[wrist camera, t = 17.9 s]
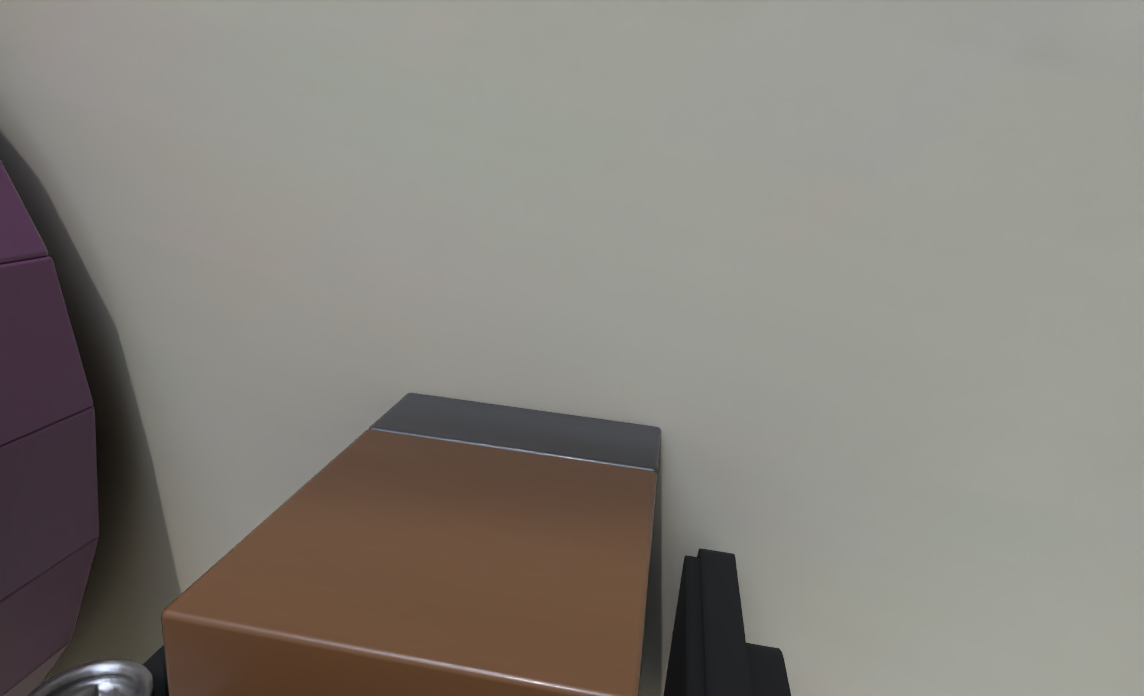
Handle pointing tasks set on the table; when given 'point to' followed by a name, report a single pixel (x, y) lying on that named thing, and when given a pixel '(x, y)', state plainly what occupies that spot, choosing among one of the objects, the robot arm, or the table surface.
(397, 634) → the brown rectangular block
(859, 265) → the table surface
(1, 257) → the bowl
